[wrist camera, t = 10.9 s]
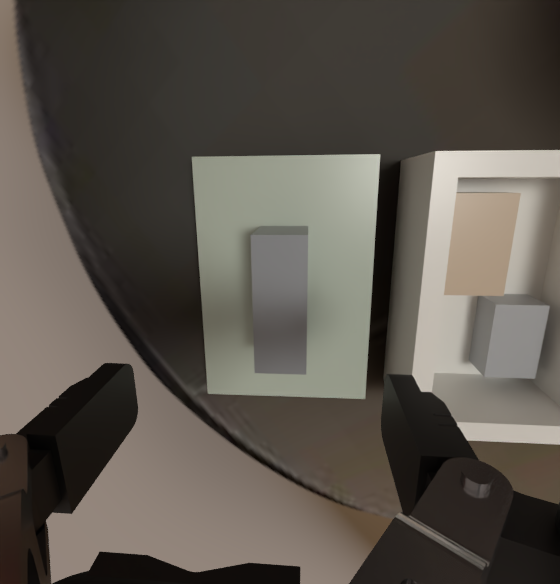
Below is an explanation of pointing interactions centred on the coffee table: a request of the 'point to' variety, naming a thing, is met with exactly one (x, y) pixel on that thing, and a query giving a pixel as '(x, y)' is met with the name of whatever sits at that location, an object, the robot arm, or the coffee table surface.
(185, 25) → the coffee table surface
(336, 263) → the lid
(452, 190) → the storage box
